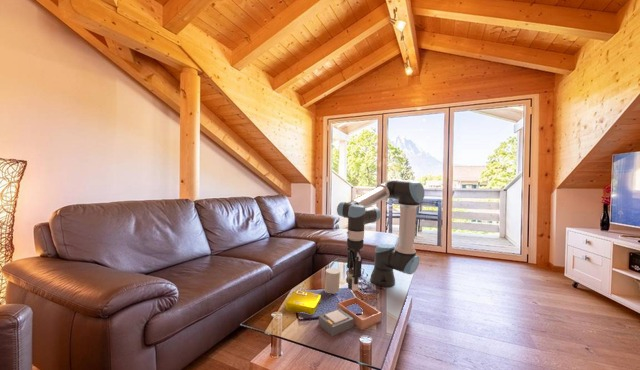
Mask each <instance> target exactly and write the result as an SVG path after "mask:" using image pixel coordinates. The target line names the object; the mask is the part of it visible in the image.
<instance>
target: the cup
mask: <svg viewBox="0 0 640 370" xmlns="http://www.w3.org/2000/svg"><path fill="white" fill-rule="evenodd" d="M340 278H341V270H340V269H339V268H336V267H327V268H326V269H325V277H324V279H325V280H324V292H325V293H326V292H328V293H336V292H338V291H339V292H340V280H341V279H340Z"/></svg>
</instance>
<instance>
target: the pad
mask: <svg viewBox="0 0 640 370" xmlns="http://www.w3.org/2000/svg"><path fill="white" fill-rule="evenodd" d="M335 310H336V311H334V310H333V311H334V312H331V311H330V312H331V313H328V312H327V313H328V314H325V313H324V314H325V318H326V319H327V320H330V321H331V322H332V323H333V324H334V325H335V324H338V323H340V322H343V321H345V320H348V317H346V316H345V315H344V314H342V313H341V312H339V311H338V310H337V309H335Z"/></svg>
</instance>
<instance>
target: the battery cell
mask: <svg viewBox="0 0 640 370" xmlns="http://www.w3.org/2000/svg"><path fill="white" fill-rule="evenodd" d="M352 276H353V267H351V268H349V271H348V279H347V283H348V285H347V288H348V289H349V290H351V291H352Z"/></svg>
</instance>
